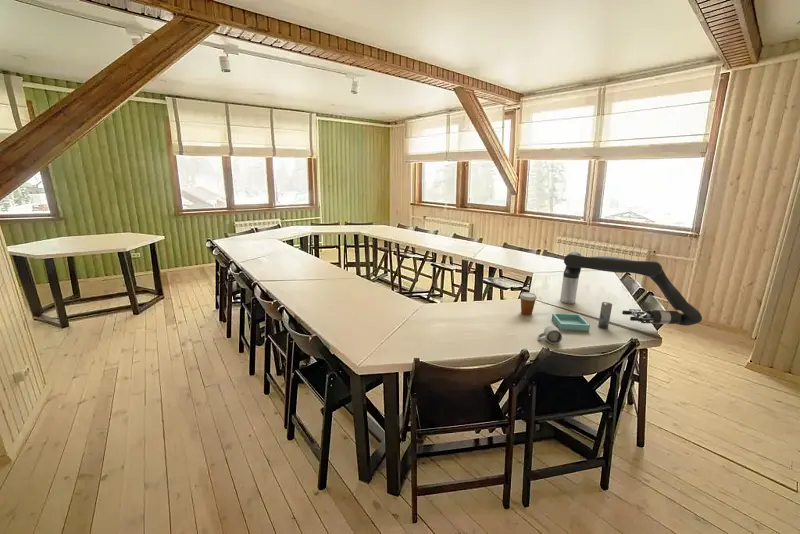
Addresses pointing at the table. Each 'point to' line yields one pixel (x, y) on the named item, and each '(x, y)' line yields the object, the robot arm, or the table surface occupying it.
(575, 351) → the table surface
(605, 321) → the charcoal metal canister
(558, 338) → the ceramic mug
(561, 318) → the teal box
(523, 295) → the disposable coffee cup
